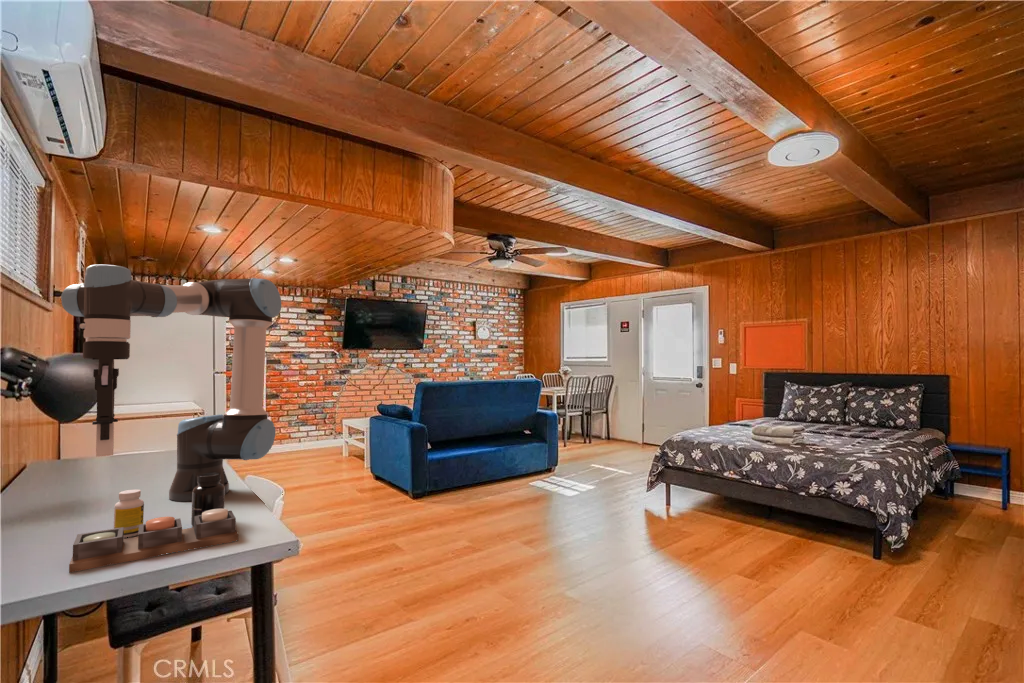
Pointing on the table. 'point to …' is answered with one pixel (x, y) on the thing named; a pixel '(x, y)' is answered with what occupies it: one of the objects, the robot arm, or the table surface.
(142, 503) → the supplement bottle
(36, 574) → the table surface
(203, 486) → the supplement bottle
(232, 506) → the table surface
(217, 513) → the peach rounded block
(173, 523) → the terracotta button
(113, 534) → the sage button
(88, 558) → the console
